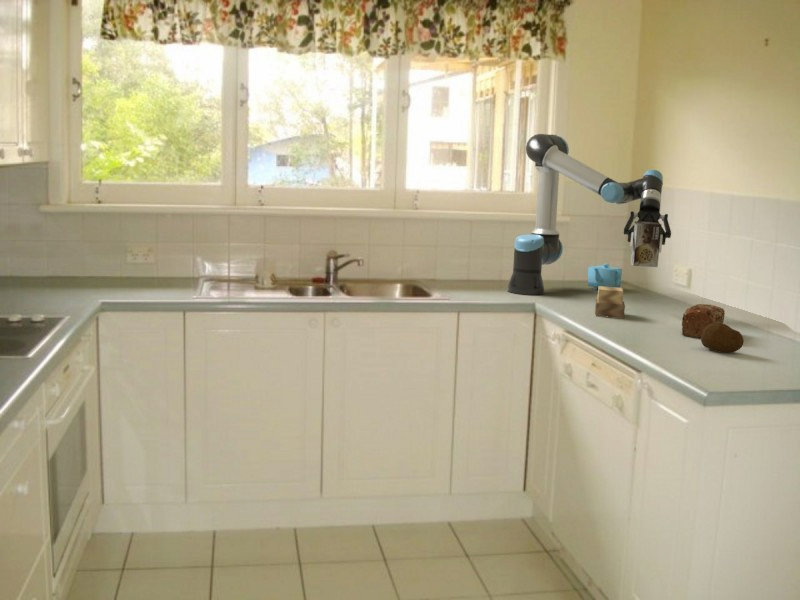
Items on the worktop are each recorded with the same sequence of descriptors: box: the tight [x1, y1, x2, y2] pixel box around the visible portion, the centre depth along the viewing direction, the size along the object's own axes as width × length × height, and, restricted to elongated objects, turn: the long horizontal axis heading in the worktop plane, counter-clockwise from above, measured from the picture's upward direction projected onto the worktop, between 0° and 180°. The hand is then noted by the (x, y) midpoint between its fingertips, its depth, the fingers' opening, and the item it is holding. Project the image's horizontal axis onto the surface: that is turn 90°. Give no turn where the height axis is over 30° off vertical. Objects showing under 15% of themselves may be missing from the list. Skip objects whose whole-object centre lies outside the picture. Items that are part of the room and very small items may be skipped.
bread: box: [681, 303, 726, 339], centre depth 297 cm, size 19×11×10 cm, turn 149°
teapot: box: [587, 263, 623, 290], centre depth 385 cm, size 16×18×11 cm
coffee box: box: [630, 221, 663, 268], centre depth 330 cm, size 9×6×16 cm
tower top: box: [596, 286, 624, 305], centre depth 324 cm, size 8×8×5 cm
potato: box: [700, 322, 745, 354], centre depth 270 cm, size 8×12×9 cm
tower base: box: [594, 298, 626, 319], centre depth 324 cm, size 10×10×5 cm
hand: (645, 249), depth 327 cm, fingers closed on coffee box, 10 cm apart
